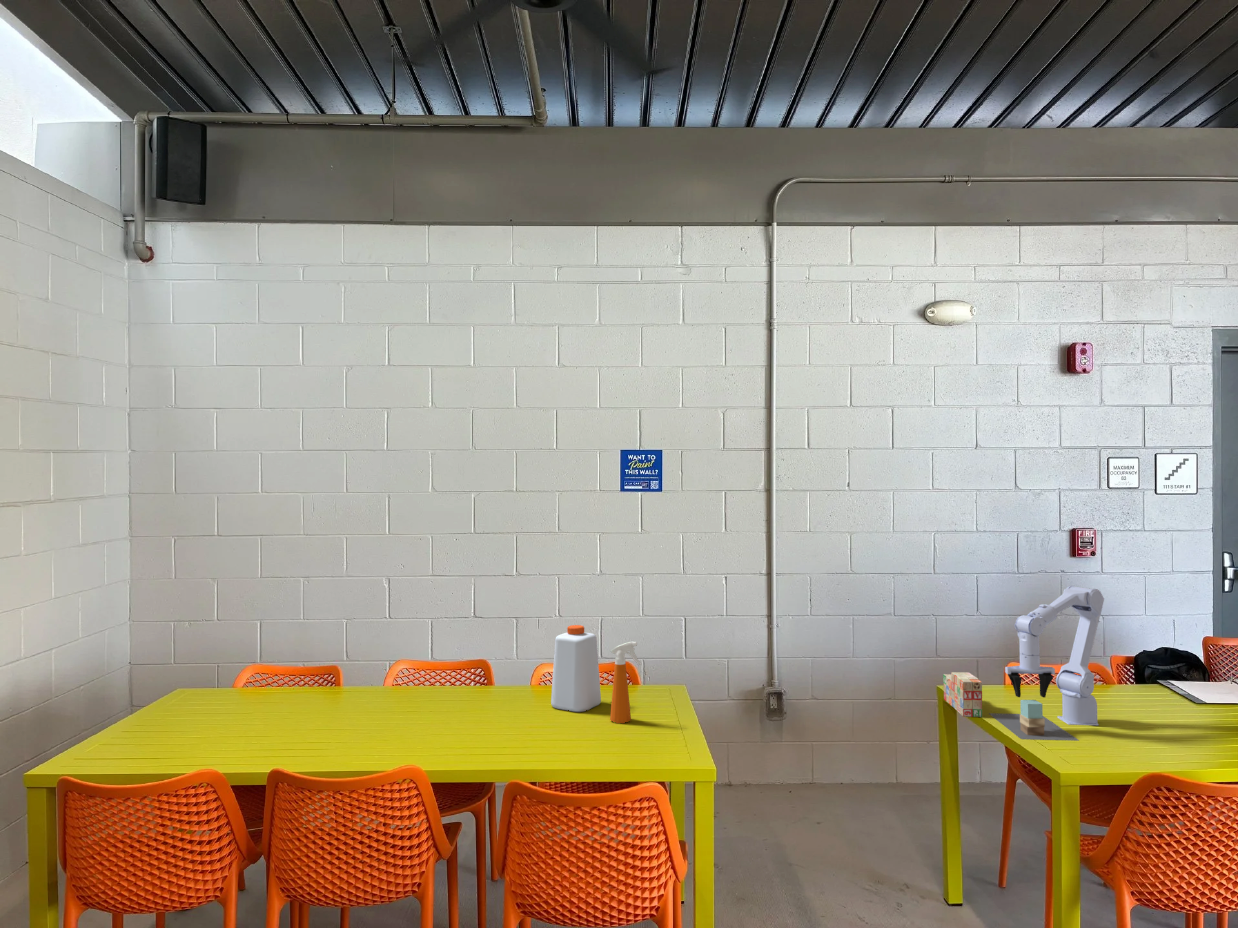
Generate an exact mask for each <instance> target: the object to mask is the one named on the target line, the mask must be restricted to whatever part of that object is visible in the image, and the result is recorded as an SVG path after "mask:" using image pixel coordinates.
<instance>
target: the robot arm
mask: <svg viewBox="0 0 1238 928" xmlns="http://www.w3.org/2000/svg"><path fill="white" fill-rule="evenodd" d="M1104 602H1105V598H1104V595H1103V594H1102V592H1101V591H1100V590H1099V589H1097V588H1089V587H1081V586H1075V585H1069V586H1067V587H1065V588H1064V589H1063V592H1062V594H1060V595H1059V596H1058V597H1057V598H1056V599H1054V600H1053V601H1052V602H1051V603H1049V604H1045V603H1044V604H1041V603H1040V604H1039V605H1038V607H1037V608H1035V609H1033V610H1032V611H1030V612H1029V613H1027V615H1026V614H1025V615H1024V614H1023V615H1020V616H1018V617H1017V618H1016V620H1015V623H1014V624H1013V625H1014V629H1015V631H1016V632H1017V637H1018V639H1019V640H1018V641H1019V643H1018V644H1019V645H1018V647H1019V665H1014V666H1005V668H1004V672H1005V674H1007V676H1008V678H1009V680H1010V681H1011V685H1012V687H1013V691H1014V695H1015V696H1016V697H1017V698H1021V695H1022V694H1021V693H1022V692H1021V686H1022V679H1023V678H1022V677H1021V676H1020V675H1023V674H1024V675H1025V674H1026V675H1038V681H1039V696H1040V697H1042V698H1046V695H1047V692H1048V688H1049V686H1050V684H1051V682H1052V681H1053V680H1054V675H1055V674H1056V669H1055V668H1054V667H1053V666H1041V657H1040V655H1041V653H1040V652H1041V651H1040V650H1041V649H1040V636H1041V635H1042V634H1043V632H1044V629H1045V628H1046V627H1047V626H1048V625H1049V624H1050V623H1051V624H1052V623H1053V622H1054V621H1055V620H1056V619H1057V617H1058V614H1059V613H1062V612H1063V611H1064V610H1066V609H1068V608H1070V607H1071V608H1072V609H1073V611H1074V612H1076V613H1077V614H1078V616H1079V620H1078V624H1077V629H1076V632H1075V637H1074V640H1073V643H1072V644H1073V645H1072V648H1071V654H1070V657H1069V661H1068V662H1067V663H1065V664H1063V665H1062V666H1060V670H1059V672H1058V674H1057V675H1056V678H1055V683H1056V686H1057V688H1058V689H1059V692H1060V693H1061V696H1062V697H1061V698H1062V699H1061V700H1062V702H1061V703H1062V704H1061V705H1062V715H1057V719H1059V720H1060V721H1062V722H1064V723H1066V724H1067V725H1068V726H1069V725H1070V726H1099V725H1100V724H1099V723H1098V702H1097V699H1096V697H1094V695H1092V693H1093V692H1094V689H1095V685H1094V680H1095V675H1094V673H1092V672H1091V670H1090V669H1089V663H1090V661H1091V660H1090V659H1091V655H1092V651H1093V647H1094V643H1095V638H1096V634H1097V630H1098V625H1099V621H1100V616H1101V614H1102V610H1103V605H1104Z"/></svg>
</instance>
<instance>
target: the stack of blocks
mask: <svg viewBox="0 0 1238 928" xmlns="http://www.w3.org/2000/svg"><path fill="white" fill-rule="evenodd" d="M950 673H951V674H950ZM950 673H947V674H946V673H943V674H942V679H943V681H942V682H943V699H944V701H945V702H946V703H948V704H949V705H950V706H951V707H953V708H954V709H955V710H956V711H957V712H958V713H959V714H960V715H961V716H962V717H969V718H976V717H977V718H983V701H982V700H983V682H982V680H979V678H978V677H977V676H975V675H973V674H972V673H970V672H965V671H963V672H961V671H960V672H958V671H957V672H954V671H952V672H950Z"/></svg>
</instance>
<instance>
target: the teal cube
mask: <svg viewBox="0 0 1238 928" xmlns="http://www.w3.org/2000/svg"><path fill="white" fill-rule="evenodd" d="M1020 714H1021V715H1023V716H1025V717H1026V718H1028V719H1043V716H1044V715H1043V714H1044V713H1043V703H1042V702H1039V701H1038V700H1036V699H1020Z"/></svg>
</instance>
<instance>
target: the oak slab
mask: <svg viewBox="0 0 1238 928" xmlns="http://www.w3.org/2000/svg"><path fill="white" fill-rule="evenodd" d="M1019 714H1020V723H1022V724H1024V725H1026V726H1028V727H1045V719H1044V718H1043V719H1028V718H1026V717H1025V716H1023V715H1021V713H1019Z"/></svg>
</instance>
